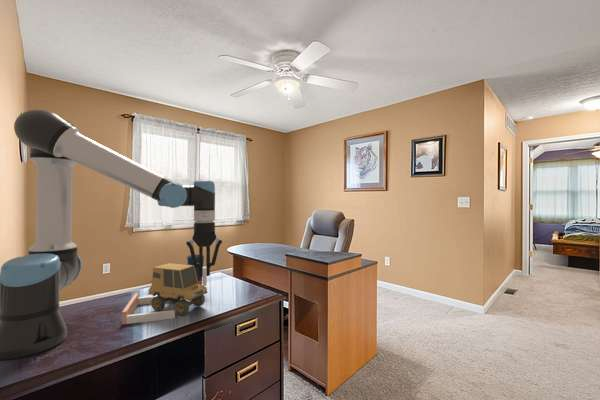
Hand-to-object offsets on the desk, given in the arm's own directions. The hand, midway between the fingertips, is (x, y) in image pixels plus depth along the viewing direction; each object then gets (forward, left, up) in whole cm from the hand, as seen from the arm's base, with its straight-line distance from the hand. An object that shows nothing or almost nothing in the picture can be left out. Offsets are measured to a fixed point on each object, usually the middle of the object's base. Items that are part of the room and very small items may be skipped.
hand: (204, 284), depth 105 cm
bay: (-17, 0, -8) cm, 19 cm away
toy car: (-9, 0, -8) cm, 12 cm away
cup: (-4, +20, -8) cm, 21 cm away
